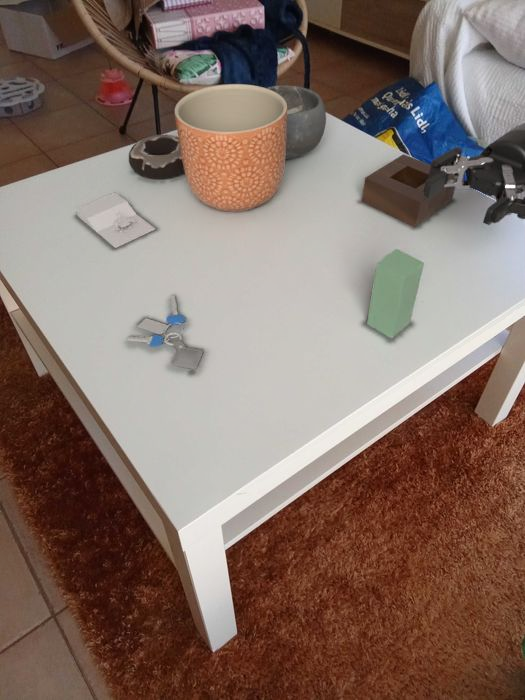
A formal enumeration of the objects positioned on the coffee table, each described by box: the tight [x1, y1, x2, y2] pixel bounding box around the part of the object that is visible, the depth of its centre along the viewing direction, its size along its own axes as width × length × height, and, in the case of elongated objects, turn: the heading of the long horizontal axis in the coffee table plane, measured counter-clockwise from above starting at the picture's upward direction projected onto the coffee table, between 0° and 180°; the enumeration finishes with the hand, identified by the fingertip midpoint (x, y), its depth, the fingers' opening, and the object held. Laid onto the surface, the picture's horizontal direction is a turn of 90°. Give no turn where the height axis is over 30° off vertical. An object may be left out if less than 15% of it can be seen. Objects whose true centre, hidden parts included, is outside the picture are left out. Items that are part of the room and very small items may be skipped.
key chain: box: [126, 294, 204, 370], centre depth 72 cm, size 14×8×1 cm, turn 24°
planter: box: [174, 83, 287, 213], centre depth 90 cm, size 17×17×15 cm
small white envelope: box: [75, 191, 156, 249], centre depth 90 cm, size 7×12×2 cm, turn 41°
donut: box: [128, 134, 185, 180], centre depth 102 cm, size 12×12×4 cm
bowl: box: [265, 84, 327, 160], centre depth 102 cm, size 15×15×10 cm
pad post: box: [366, 248, 425, 339], centre depth 70 cm, size 4×4×10 cm
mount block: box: [361, 153, 456, 228], centre depth 92 cm, size 11×11×4 cm
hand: (456, 204), depth 70 cm, fingers open, 8 cm apart
